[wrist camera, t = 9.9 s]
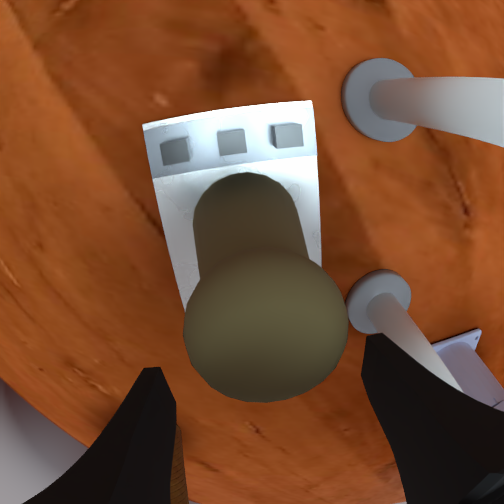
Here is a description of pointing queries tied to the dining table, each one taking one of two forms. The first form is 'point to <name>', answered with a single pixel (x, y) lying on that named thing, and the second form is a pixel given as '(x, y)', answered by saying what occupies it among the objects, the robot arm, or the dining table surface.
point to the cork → (259, 295)
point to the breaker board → (231, 169)
